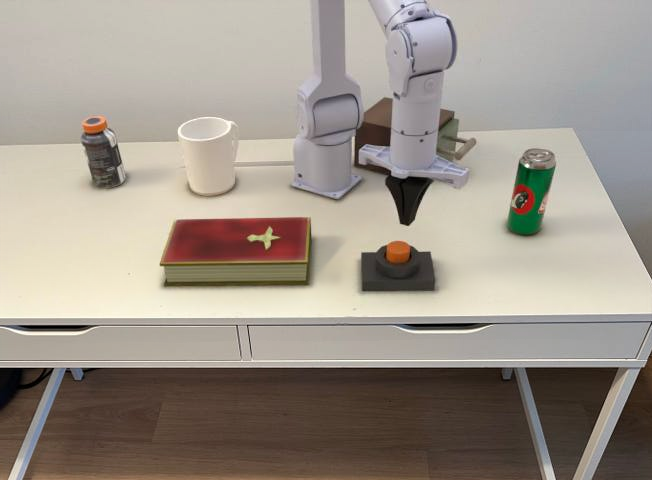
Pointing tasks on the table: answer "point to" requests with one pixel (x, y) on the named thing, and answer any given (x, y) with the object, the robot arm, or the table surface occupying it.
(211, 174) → the mug
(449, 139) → the drawer
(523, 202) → the soda can
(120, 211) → the table surface
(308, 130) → the robot arm
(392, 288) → the button block
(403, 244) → the button
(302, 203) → the table surface
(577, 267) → the table surface
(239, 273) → the hardcover book
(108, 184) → the pill bottle
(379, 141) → the cabinet
